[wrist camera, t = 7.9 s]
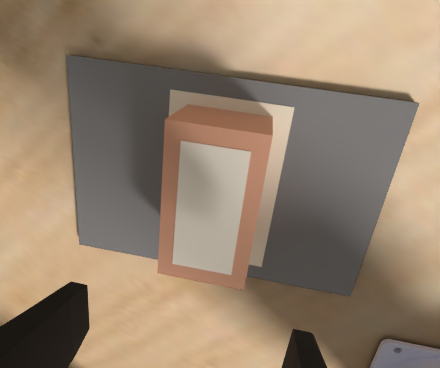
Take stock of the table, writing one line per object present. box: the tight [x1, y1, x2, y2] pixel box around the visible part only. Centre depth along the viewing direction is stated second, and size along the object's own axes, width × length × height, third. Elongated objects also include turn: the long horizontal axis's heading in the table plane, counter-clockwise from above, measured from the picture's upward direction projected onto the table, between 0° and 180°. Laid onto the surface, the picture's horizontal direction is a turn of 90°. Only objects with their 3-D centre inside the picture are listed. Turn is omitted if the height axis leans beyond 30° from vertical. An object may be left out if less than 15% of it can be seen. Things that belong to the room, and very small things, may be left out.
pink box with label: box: [158, 104, 273, 290], centre depth 17 cm, size 8×4×4 cm, turn 173°
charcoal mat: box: [66, 55, 419, 296], centre depth 19 cm, size 18×12×1 cm, turn 83°
